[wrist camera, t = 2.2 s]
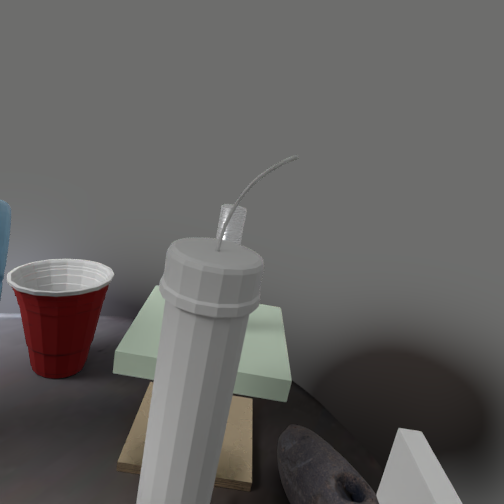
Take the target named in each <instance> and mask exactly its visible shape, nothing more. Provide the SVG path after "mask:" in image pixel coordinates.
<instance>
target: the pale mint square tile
mask: <svg viewBox="0 0 504 504" xmlns="http://www.w3.org/2000/svg"><path fill="white" fill-rule="evenodd" d="M164 306H165V299H164V298H163V297H162V295H161V293H160V291H159V286H155V288H154V289H153V291H152V293H151V294H150V296H149V297H148V299H147V301H146V302H145V304H144V305H143V307H142V309H141V310H140V312H139V313H138V315H137V317H136V318H135V320H134V321H133V323H132V325H131V326H130V328H129V329H128V331H127V333H126V334H125V336H124V337H123V339H122V341H121V342H120V344H119V345H118V347H117V349H116V350H115V356H114V365H113V373H115V374H121V375H127V376H133V377H139V378H145V379H151V380H154V376H155V369H156V362H157V355H158V348H159V341H160V334H161V327H162V320H163V313H164ZM291 382H292V379H291V373H290V366H289V359H288V352H287V346H286V340H285V333H284V327H283V320H282V313H281V308H279V307H274V306H268V305H262V304H259V307H258V308H257V309H256V310H254V311H253V312H252V313H251V314H249V319H248V323H247V328H246V333H245V338H244V343H243V347H242V352H241V357H240V362H239V367H238V372H237V376H236V381H235V386H234V391H233V393H234V394H240V395H246V396H252V397H258V398H264V399H270V400H276V401H282V402H287V398H288V394H289V390H290V386H291Z"/></svg>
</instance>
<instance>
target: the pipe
mask: <svg viewBox="0 0 504 504" xmlns="http://www.w3.org/2000/svg"><path fill="white" fill-rule="evenodd" d="M297 159H298V155H295V156H292V157H290V158H287V159H285V160H283V161H280V162H279V163H277V164H275V165H274V166H272V167H270V168H268V169H267V170H265V171H264V172H263V173H262V174H260V175H259V176H258V177H257V178H256V179H255V180H253V181H252V182H251V183H250V184H249V186H248V187H246V189H245V190H244V191H243V192H242V194H241V195H240V196H239V198H238V199H237V200H236V202H235V203H234V205H233V207H232V209H231V210H230V212H229V214H228V216H227V218H226V221H225V223H224V225H223V228H222V231H221V234H220V236H219V239H214V238H201V237H194V238H183V239H179V240H176V241H173V242H172V244H171V245H170V247H169V249H168V250H167V254H166V262H165V269H164V275H163V276H162V278H161V280H160V286H159V291H160V293H161V295H162V297H163V298H164V299H165V306H164V313H163V320H162V327H161V334H160V341H159V348H158V355H157V362H156V369H155V376H154V383H153V390H152V397H151V404H150V411H149V418H148V425H147V432H146V439H145V446H144V453H143V460H142V467H141V474H140V481H139V488H138V495H137V502H136V504H210V501H211V497H212V492H213V487H214V482H215V477H216V473H217V468H218V463H219V458H220V453H221V448H222V444H223V439H224V434H225V429H226V424H227V420H228V415H229V410H230V405H231V400H232V396H233V391H234V386H235V381H236V376H237V372H238V367H239V362H240V357H241V352H242V347H243V343H244V338H245V333H246V328H247V323H248V319H249V314H251V313H252V312H253V311H254V310H256V309H257V308H258V307H259V303H260V298H261V296H260V286H261V281H262V277H263V272H264V262H263V258H262V257H261V256H260V255H259V254H258V253H256V252H255V251H253V250H251V249H249V248H247V247H245V246H242V245H240V244H236V243H233V242H230V241H225V240H223V236H224V234H225V231H226V228H227V225H228V223H229V221H230V219H231V217H232V214H233V213H234V211H235V209H236V208H237V206H238V204H239V203H240V201H241V200H242V199H243V197H244V196H245V194H246V193H247V192H248V191H249V190H250V189H251V188H252V187H253V186H254V185H255V184H256V183H257V182H258V181H259V180H260V179H261V178H263V177H264V176H266V175H267V174H268V173H270V172H271V171H273V170H275V169H277V168H278V167H280V166H282V165H284V164H286V163H288V162H291V161H294V160H297Z"/></svg>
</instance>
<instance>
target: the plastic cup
mask: <svg viewBox="0 0 504 504" xmlns="http://www.w3.org/2000/svg"><path fill="white" fill-rule="evenodd" d="M113 277H114V273H113V271H112V269H111V268H110V267H108V266H105V265H103V264H101V263H98V262H93V261H89V260H80V259H50V260H43V261H37V262H31V263H28V264H25V265H22V266H19V267H16V268H15V269H13V270H12V271H11V272H9V273H8V274H7V282H8V284H9V285H10V286H11V287H12V288H13V290H14V292H15V296H16V297H17V301H18V304H19V306H20V312H21V317H22V322H23V328H24V333H25V339H26V344H27V346H28V350H29V357H30V363H31V366H32V370H33V371H34V372H35V373H36V374H37V375H40V376H43V377H45V378H55V379H56V378H65V377H69V376H71V375H74V374H76V373H78V372H79V371H80V370H82V368H83V366H84V364H85V362H86V360H87V356H88V353H89V349H90V345H91V343H92V341H93V338H94V334H95V330H96V326H97V323H98V319H99V315H100V312H101V308H102V304H103V301H104V299H105V295H106V292H107V290H108V285H109V284H110V282H111V280H112V279H113Z"/></svg>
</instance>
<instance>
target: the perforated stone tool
mask: <svg viewBox="0 0 504 504" xmlns="http://www.w3.org/2000/svg"><path fill="white" fill-rule="evenodd" d="M277 461H278V469H279V474H280V478H281V482H282V485H283V488H284V490H285V493H286V495H287V498H288V500H289V502H290V504H379V502H378V499H377V496H376V494H375V492H374V491H373V489H372V488H371V487H370V486H369V484H368V483H367V482H366V481H365V480H364V478H363V477H362V476H361V475H360V474H359V473H358V472H357V471H356V470H355V469H354V467H353V466H352V465H351V464H350V463H349V462H348V461H347V460H346V459H345V458H344V457H343V456H342V455H340V454H339V453H338V452H337V451H336V450H334V448H333V447H332V446H331V445H330V444H328V443H327V442H326V441H325V440H323V439H322V438H321V437H320V436H319V435H317V434H316V433H314V432H313V431H311V430H310V429H308V428H306V427H303V426H300V425H297V424H296V425H295V424H291V425H289V426H288V427H287V428H286V430H285V431H284V432H282V433H281V435H280V436H279V439H278V444H277Z"/></svg>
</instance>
